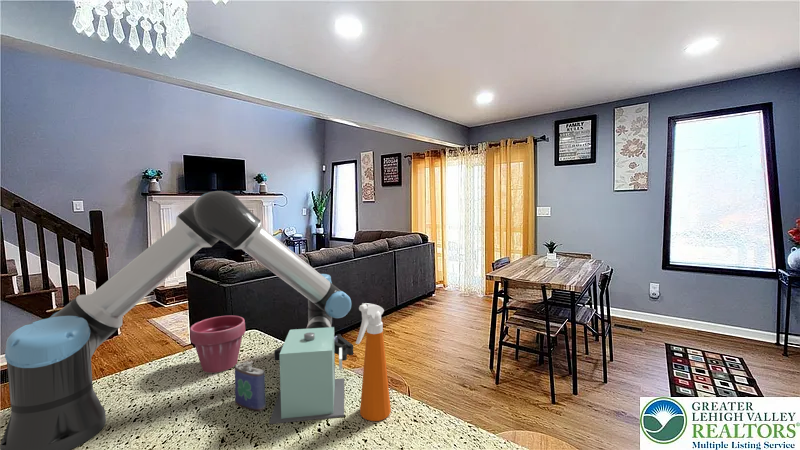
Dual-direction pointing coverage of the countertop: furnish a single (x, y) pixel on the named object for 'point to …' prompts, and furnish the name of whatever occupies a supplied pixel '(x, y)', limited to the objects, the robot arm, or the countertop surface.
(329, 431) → the countertop surface
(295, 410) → the box
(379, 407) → the spray bottle
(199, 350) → the plant pot
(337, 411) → the rubber mat
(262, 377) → the flask
